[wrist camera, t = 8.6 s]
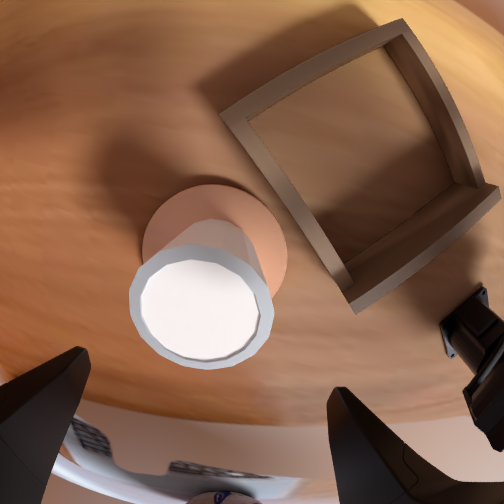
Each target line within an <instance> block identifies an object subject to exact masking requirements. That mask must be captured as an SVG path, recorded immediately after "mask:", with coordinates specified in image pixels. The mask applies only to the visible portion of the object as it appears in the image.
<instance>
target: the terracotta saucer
mask: <svg viewBox="0 0 504 504" xmlns="http://www.w3.org/2000/svg"><path fill="white" fill-rule="evenodd" d="M207 219H217V220H223V221H228V222H230V223H232V224H234V225H235V226H237V227H239V228H240V229H242V230H243V231H244V232H245V234H246V235H247V236H248V238H249V239H250V240H251V242H252V243H253V246H254V248H255V251H256V254H257V257H258V260H259V263H260V265H261V268H262V271H263V274H264V277H265V279H266V282H267V285H268V288H269V292H270V296H271V299H272V297H273V296H274V295H275V294H276V292H277V291H278V289H279V287H280V285H281V283H282V281H283V278H284V275H285V272H286V266H287V247H286V242H285V238H284V235H283V232H282V230H281V228H280V225H279V223H278V221H277V220H276V218H275V216H274V215H273V214H272V212H271V211H270V210H269V209H268V207H267V206H266V205H264V204H263V203H262V202H261V201H260V200H259V199H257V198H256V197H254V196H253V195H251V194H250V193H248V192H246V191H244V190H241V189H239V188H236V187H233V186H228V185H222V184H204V185H198V186H194V187H191V188H188V189H185V190H183V191H181V192H179V193H177V194H176V195H174V196H173V197H171V198H170V199H168V200H167V201H166V202H165V203H164V204H163V205H161V206H160V207H159V208H158V210H157V211H156V212H155V214H154V215H153V216H152V218H151V220H150V222H149V223H148V226H147V228H146V231H145V234H144V238H143V246H142V258H143V264H144V263H146V262H147V261H148V260H149V259H150V258H152V257H153V256H154V255H155V254H156V253H157V252H159V251H160V250H161V249H162V248H164V247H165V246H166V245H167V244H168V243H170V242H171V241H172V240H173V239H174V238H176V237H177V236H178V235H179V234H181V233H182V232H183V231H184V230H186V229H187V228H188V227H190V226H191V225H192V224H194V223H196V222H199V221H203V220H207Z"/></svg>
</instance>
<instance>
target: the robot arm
mask: <svg viewBox="0 0 504 504" xmlns="http://www.w3.org/2000/svg"><path fill="white" fill-rule="evenodd" d="M440 328H441V331H442V335H443V339H444V343H445V347H446V351H447V355H448V357H449V358H450V359H452V358H453V357H455V356H456V355H457V354H458V355H459V356H460V357H461V358H462V360H463V361H464V362H465V363H466V365H467V366H468V367H469V368H470V370H471V371H472V372H473V373H474V375H475V376H474V378H473V379H472V380H471V382H470V383H469V384H468V386H467V387H465V388H464V389H463V391H462V392H463V395H464V397H465V400H466V403H467V405H468V408H469V411H470V414H471V417H472V419H473V422H474V425H475V426H477V427H478V428H479V429H480V430H481V431H482V432H484V434H485V435H486V436H487V438H488V440H489V442H490V444H491V446H492V448H493V449H494V450H497V451H499V452H503V451H504V321H503V320H502V319H501V318H500V317H499V316H498V315H497V314H495V313H494V312H493V311H492V310H491V309H490V308H489V304H488V295H487V289H486V288H485V287H481V288H480V289H479V290H478V291H477V292H476V293H475V294H474V295H472V296H471V297H470V298H469V299H468V300H467V301H466V302H465V303H463V304H462V305H461V306H460V307H459V308H458V309H456V310H455V311H454V312H453V313H451V314H450V315H449V316H448V317H447V318H445V319H444V320H443V321H442V322H441V324H440ZM90 370H91V363H90V359H89V355H88V351H87V349H85V348H82V347H79V346H76V347H74V348H72V349H70V350H68V351H66V352H64V353H62V354H60V355H59V356H57V357H55V358H53V359H51V360H49V361H47V362H45V363H43V364H41V365H40V366H38V367H36V368H34V369H32V370H30V371H28V372H26V373H24V374H22V375H20V376H19V377H17V378H15V379H13V380H11V381H9V382H8V383H5V384H3V385H1V386H0V504H41V501H42V498H43V494H44V492H45V488H46V487H45V486H46V485H47V482H48V479H49V477H50V474H51V471H52V468H53V466H54V463H55V460H56V458H57V455H58V452H59V450H60V447H61V445H62V442H63V440H64V437H65V435H66V433H67V430H68V428H69V426H70V423H71V421H72V419H73V416H74V414H75V412H76V409H77V407H78V405H79V403H80V400H81V397H82V394H83V391H84V388H85V385H86V382H87V379H88V376H89V373H90ZM327 420H328V435H329V444H330V450H331V455H332V460H333V466H334V471H335V477H336V483H337V489H338V495H339V501H340V504H504V482H462V481H457V480H454V479H452V478H450V477H449V476H447V475H445V474H444V473H443V472H441V471H440V470H438V469H437V468H436V467H434V466H433V465H431V464H430V463H429V462H427V461H426V460H425V459H423V458H422V457H421V456H420V455H418V454H417V453H416V452H415V451H414V450H413V449H411V448H410V447H409V446H408V445H407V444H406V443H405V444H404V441H403V440H401V439H400V438H399V437H398V436H397V435H396V434H395V433H394V432H393V431H392V430H391V429H389V428H388V426H386V425H385V424H384V423H383V422H382V421H381V420H380V419H379V418H378V417H377V416H376V415H375V414H374V413H373V412H372V411H371V410H369V409H368V408H367V407H366V406H365V405H364V404H363V403H362V402H361V401H360V400H359V399H358V398H357V397H356V396H355V395H354V394H353V393H352V392H351V391H350V390H349V389H348V388H346V387H335V388H334V389H333V391H332V393H331V395H330V397H329V399H328V401H327Z"/></svg>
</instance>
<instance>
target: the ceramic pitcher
mask: <svg viewBox="0 0 504 504" xmlns="http://www.w3.org/2000/svg"><path fill="white" fill-rule="evenodd" d="M186 504H262V503H261V502H259V501H257V500H255V499H253V498H251V497H249V496H246V495H243V494H241V493H237V492H222V491H217V492H207V493H203V494H200V495H198V496H196V497H194V498H192V499H191V500H190V501H188V502H187V503H186Z"/></svg>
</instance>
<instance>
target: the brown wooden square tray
mask: <svg viewBox="0 0 504 504" xmlns="http://www.w3.org/2000/svg"><path fill="white" fill-rule="evenodd" d="M382 46H383V47H384V48H385V49H386V51H387V52H388V54H389V55H390V56H391V58H392V59H393V61H394V62H395V64H396V65H397V67H398V68H399V70H400V72H401V73H402V75H403V76H404V78H405V80H406V81H407V83H408V85H409V86H410V88H411V90H412V91H413V93H414V95H415V97H416V98H417V100H418V102H419V104H420V106H421V107H422V109H423V111H424V113H425V115H426V117H427V119H428V121H429V123H430V125H431V127H432V129H433V131H434V133H435V135H436V138H437V140H438V142H439V144H440V146H441V149H442V151H443V153H444V156H445V158H446V161H447V163H448V166H449V168H450V171H451V173H452V176H453V179H454V181H455V183H454V184H453V185H451V186H450V187H449V188H448V189H446V190H445V191H444V192H442V193H441V194H440V195H439V196H437V197H436V198H435V199H434V200H432V201H431V202H430V203H428V204H427V205H426V206H424V207H423V208H422V209H420V210H419V211H418V212H416V213H415V214H414V215H412V216H411V217H410V218H408V219H407V220H406V221H404V222H403V223H402V224H400V225H399V226H398V227H396V228H395V229H393V230H392V231H391V232H389V233H388V234H386V235H385V236H384V237H382V238H381V239H379V240H378V241H377V242H375V243H374V244H372V245H371V246H369V247H368V248H367V249H365V250H364V251H362V252H361V253H359V254H358V255H356V256H355V257H354V258H352V259H351V260H349V261H348V262H346V263H345V264H343V263H342V261H341V259H340V258H339V256H338V254H337V253H336V251H335V250H334V248H333V246H332V245H331V243H330V241H329V240H328V238H327V237H326V235H325V233H324V232H323V230H322V229H321V227H320V225H319V224H318V222H317V221H316V219H315V218H314V216H313V214H312V213H311V211H310V210H309V208H308V207H307V205H306V204H305V202H304V201H303V199H302V198H301V196H300V195H299V193H298V192H297V190H296V189H295V187H294V186H293V184H292V183H291V181H290V180H289V178H288V177H287V175H286V174H285V173H284V171H283V170H282V168H281V167H280V165H279V164H278V163H277V161H276V160H275V158H274V157H273V155H272V154H271V153H270V151H269V150H268V148H267V147H266V146H265V144H264V143H263V142H262V140H261V139H260V138H259V136H258V135H257V133H256V132H255V131H254V129H253V128H252V127H251V125H250V124H249V123H248V121H249V120H251V119H252V118H254V117H255V116H257V115H258V114H260V113H261V112H263V111H265V110H266V109H268V108H269V107H271V106H272V105H274V104H276V103H277V102H279V101H280V100H282V99H284V98H285V97H287V96H289V95H290V94H292V93H294V92H295V91H297V90H299V89H300V88H302V87H304V86H305V85H307V84H309V83H311V82H312V81H314V80H316V79H318V78H320V77H321V76H323V75H325V74H327V73H329V72H331V71H333V70H334V69H336V68H338V67H340V66H342V65H344V64H346V63H348V62H350V61H352V60H354V59H356V58H358V57H360V56H362V55H364V54H366V53H368V52H371V51H373V50H375V49H377V48H379V47H382ZM219 115H220V117H221V118H222V119H223V121H224V122H225V123H226V125H227V126H228V127H229V128H230V130H231V131H232V132H233V134H234V135H235V136H236V138H237V139H238V140H239V142H240V143H241V144H242V146H243V147H244V148H245V150H246V151H247V153H248V154H249V155H250V157H251V158H252V159H253V161H254V162H255V163H256V165H257V166H258V168H259V169H260V170H261V172H262V173H263V175H264V176H265V177H266V179H267V180H268V182H269V183H270V184H271V186H272V187H273V189H274V190H275V191H276V193H277V194H278V196H279V197H280V199H281V200H282V202H283V203H284V204H285V206H286V207H287V209H288V210H289V212H290V213H291V215H292V216H293V218H294V219H295V221H296V222H297V223H298V225H299V226H300V228H301V229H302V231H303V232H304V234H305V235H306V237H307V238H308V240H309V242H310V243H311V245H312V246H313V248H314V249H315V251H316V252H317V254H318V255H319V257H320V258H321V260H322V262H323V263H324V265H325V266H326V268H327V269H328V271H329V272H330V274H331V276H332V277H333V279H334V280H335V282H336V284H337V285H338V287H339V288H340V290H341V292H342V293H343V295H344V297H345V298H346V300H347V302H348V303H349V305H350V307H351V308H352V310H353V312H354V313H355V315H356V314H358V313H359V312H361V311H362V310H364V309H365V308H367V307H368V306H370V305H371V304H373V303H374V302H376V301H377V300H379V299H380V298H381V297H383V296H384V295H386V294H387V293H389V292H390V291H391V290H393V289H394V288H396V287H397V286H398V285H400V284H401V283H403V282H404V281H405V280H407V279H408V278H409V277H411V276H412V275H413V274H415V273H416V272H417V271H419V270H420V269H421V268H423V267H424V266H425V265H426V264H428V263H429V262H430V261H432V260H433V259H434V258H435V257H437V256H438V255H439V254H440V253H441V252H443V251H444V250H445V249H446V248H448V247H449V246H450V245H451V244H452V243H454V242H455V241H456V240H457V239H458V238H459V237H461V236H462V235H463V234H464V233H465V232H466V231H467V230H469V229H470V228H471V227H472V226H473V225H474V224H475V223H476V222H477V221H479V220H480V219H481V218H482V217H483V216H484V215H485V214H486V213H487V212H488V211H489V210H490V209H491V208H492V207H493V206H494V205H495V204H496V203H497V202H498V201H500V200H501V199H502V198H501V194H500V190H499V186H495V185H492V184H488V183H485V179H484V176H483V173H482V170H481V167H480V164H479V161H478V158H477V155H476V152H475V149H474V147H473V144H472V141H471V139H470V136H469V134H468V131H467V129H466V127H465V124H464V122H463V120H462V117H461V115H460V113H459V111H458V109H457V107H456V105H455V102H454V100H453V98H452V96H451V94H450V92H449V91H448V89H447V87H446V85H445V83H444V81H443V79H442V77H441V76H440V74H439V72H438V70H437V69H436V67H435V65H434V64H433V62H432V60H431V59H430V57H429V56H428V54H427V52H426V51H425V49H424V48H423V46H422V45H421V43H420V42H419V40H418V39H417V37H416V36H415V34H414V33H413V32H412V30H411V29H410V27H409V26H408V25H407V23H406V22H405V21H404V19H403V18H401V19H398V20H395V21H393V22H390V23H387V24H385V25H382V26H379V27H377V28H374V29H372V30H369V31H367V32H365V33H362V34H360V35H357V36H355V37H353V38H351V39H348V40H346V41H344V42H342V43H340V44H338V45H336V46H333V47H331V48H329V49H327V50H325V51H323V52H321V53H319V54H317V55H315V56H313V57H311V58H310V59H308V60H306V61H304V62H302V63H300V64H298V65H297V66H295V67H293V68H291V69H289V70H288V71H286V72H284V73H282V74H281V75H279V76H277V77H276V78H274V79H272V80H271V81H269V82H267V83H266V84H264V85H262V86H261V87H259V88H258V89H256V90H254V91H253V92H251V93H250V94H248V95H247V96H245V97H244V98H242V99H241V100H239V101H238V102H236V103H235V104H233V105H232V106H230V107H229V108H227V109H226V110H224V111H223V112H222V113H220V114H219Z"/></svg>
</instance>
